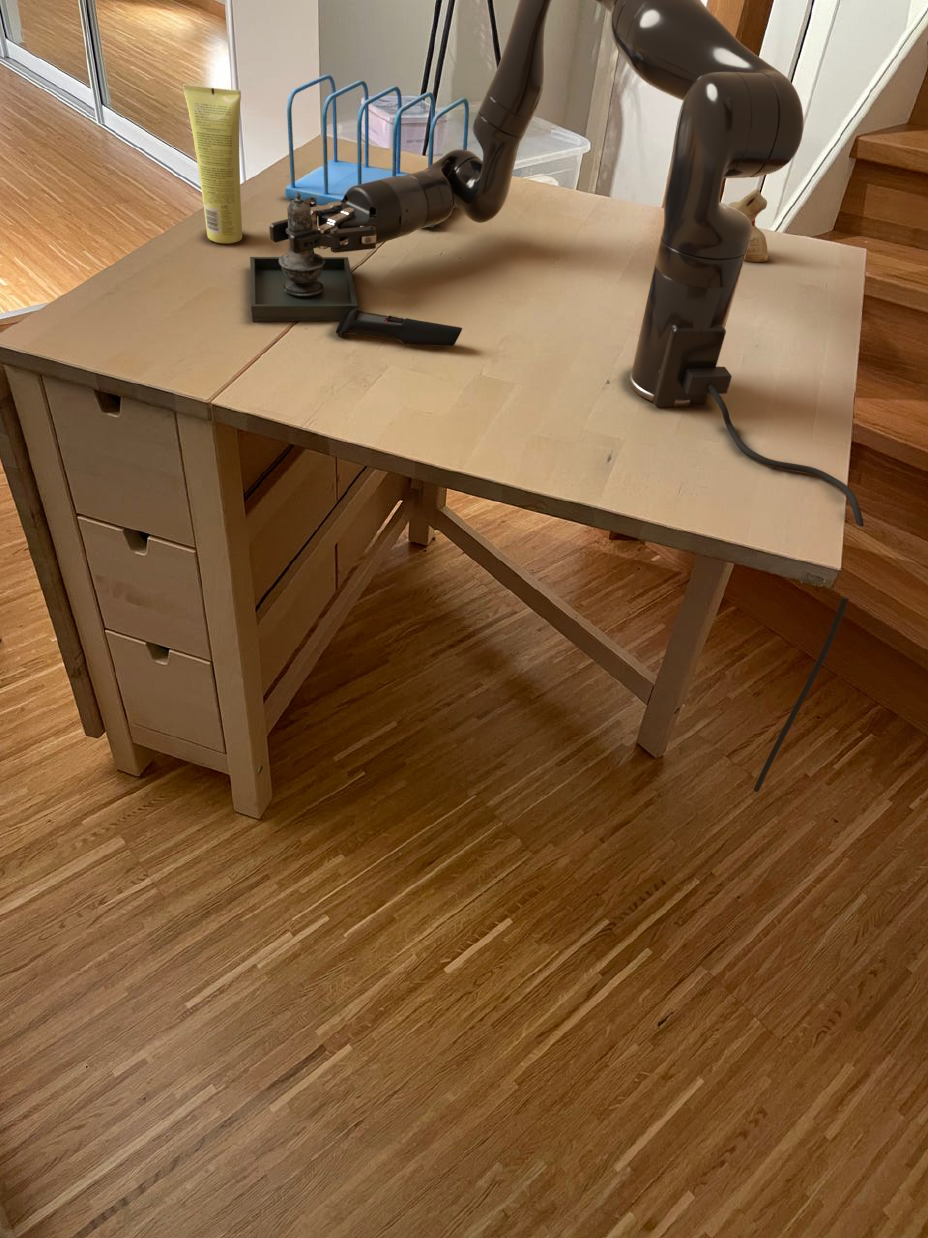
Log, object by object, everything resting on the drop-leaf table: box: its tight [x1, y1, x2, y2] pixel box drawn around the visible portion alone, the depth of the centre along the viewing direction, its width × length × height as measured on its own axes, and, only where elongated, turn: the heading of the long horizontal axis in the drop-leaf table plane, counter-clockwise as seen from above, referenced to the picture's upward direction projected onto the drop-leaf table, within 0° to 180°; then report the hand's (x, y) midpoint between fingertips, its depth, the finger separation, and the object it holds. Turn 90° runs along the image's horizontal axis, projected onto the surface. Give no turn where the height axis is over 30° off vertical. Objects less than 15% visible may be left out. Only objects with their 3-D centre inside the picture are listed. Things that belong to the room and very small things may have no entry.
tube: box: [182, 83, 243, 244], centre depth 126 cm, size 6×5×20 cm
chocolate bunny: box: [727, 188, 770, 263], centre depth 140 cm, size 6×8×10 cm
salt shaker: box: [279, 193, 325, 296], centre depth 117 cm, size 6×6×12 cm
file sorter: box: [285, 74, 470, 228], centre depth 144 cm, size 25×17×15 cm
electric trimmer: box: [335, 308, 463, 347], centre depth 113 cm, size 4×16×3 cm, turn 79°
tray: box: [249, 256, 359, 322], centre depth 120 cm, size 15×13×2 cm
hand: (282, 238), depth 114 cm, fingers closed on salt shaker, 3 cm apart
